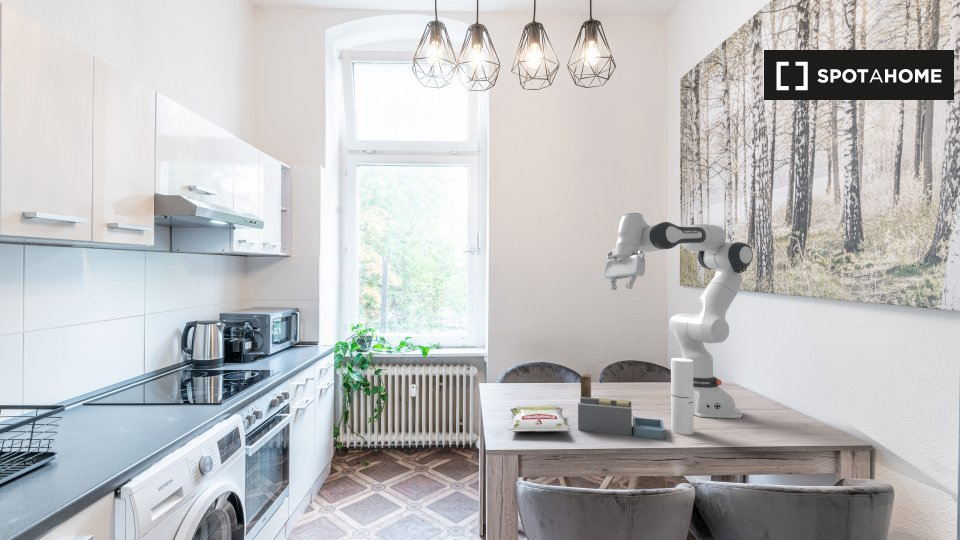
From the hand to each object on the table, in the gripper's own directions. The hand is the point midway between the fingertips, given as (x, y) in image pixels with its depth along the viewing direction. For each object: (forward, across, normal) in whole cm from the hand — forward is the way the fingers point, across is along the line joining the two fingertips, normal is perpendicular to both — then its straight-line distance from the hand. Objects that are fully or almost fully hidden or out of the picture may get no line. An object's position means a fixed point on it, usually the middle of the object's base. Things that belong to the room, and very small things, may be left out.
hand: (621, 289), depth 167 cm
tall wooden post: (+49, +14, -3) cm, 51 cm away
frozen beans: (+56, +10, +19) cm, 59 cm away
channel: (+51, 0, -3) cm, 51 cm away
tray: (+48, -8, -14) cm, 51 cm away
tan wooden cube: (+44, -4, -6) cm, 44 cm away
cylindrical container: (+46, -11, -26) cm, 54 cm away
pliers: (+47, +13, -17) cm, 51 cm away
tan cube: (+45, 0, -1) cm, 45 cm away
